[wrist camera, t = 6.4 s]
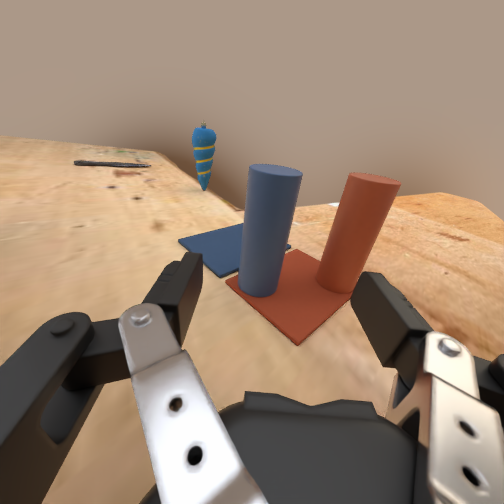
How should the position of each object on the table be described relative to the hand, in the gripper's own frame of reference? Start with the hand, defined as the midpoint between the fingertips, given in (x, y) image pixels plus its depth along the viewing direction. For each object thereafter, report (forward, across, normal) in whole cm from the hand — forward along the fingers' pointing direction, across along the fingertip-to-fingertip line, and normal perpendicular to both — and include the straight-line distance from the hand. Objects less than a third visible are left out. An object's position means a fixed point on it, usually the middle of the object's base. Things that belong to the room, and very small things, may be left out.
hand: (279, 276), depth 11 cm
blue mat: (+19, +3, +9) cm, 21 cm away
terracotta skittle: (+12, -9, +8) cm, 17 cm away
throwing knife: (+59, +43, +9) cm, 73 cm away
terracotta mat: (+11, -4, +9) cm, 15 cm away
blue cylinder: (+10, 0, +8) cm, 13 cm away
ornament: (+44, +13, +9) cm, 47 cm away
